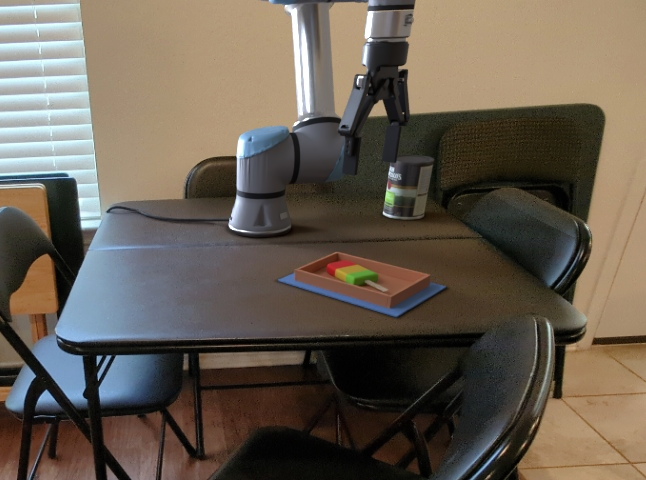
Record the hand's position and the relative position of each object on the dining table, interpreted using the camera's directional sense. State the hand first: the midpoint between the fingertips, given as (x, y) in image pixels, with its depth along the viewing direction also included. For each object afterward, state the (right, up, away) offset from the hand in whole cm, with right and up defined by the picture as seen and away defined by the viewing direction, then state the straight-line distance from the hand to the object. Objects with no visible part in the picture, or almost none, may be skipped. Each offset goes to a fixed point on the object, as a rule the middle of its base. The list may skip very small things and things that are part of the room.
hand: (369, 168), depth 111 cm
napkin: (-2, -22, 0) cm, 22 cm away
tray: (-2, -22, 0) cm, 22 cm away
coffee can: (+22, +1, +41) cm, 47 cm away
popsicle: (-2, -22, 0) cm, 22 cm away
